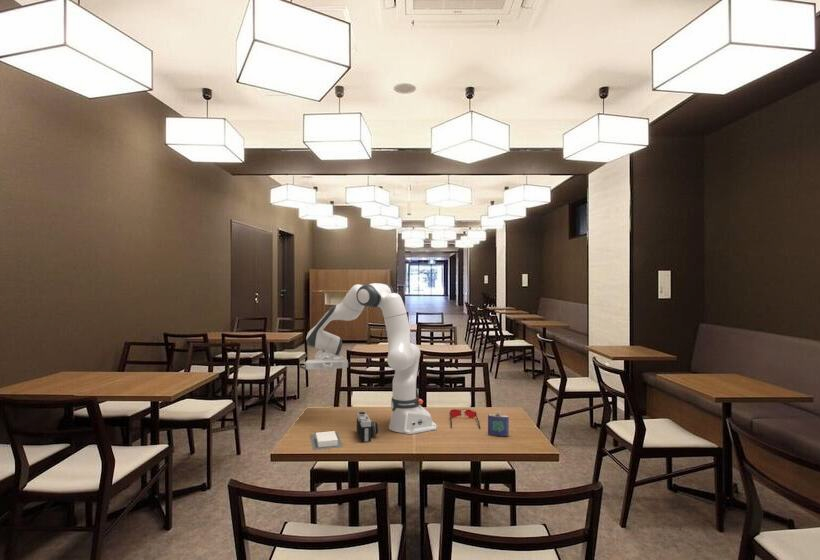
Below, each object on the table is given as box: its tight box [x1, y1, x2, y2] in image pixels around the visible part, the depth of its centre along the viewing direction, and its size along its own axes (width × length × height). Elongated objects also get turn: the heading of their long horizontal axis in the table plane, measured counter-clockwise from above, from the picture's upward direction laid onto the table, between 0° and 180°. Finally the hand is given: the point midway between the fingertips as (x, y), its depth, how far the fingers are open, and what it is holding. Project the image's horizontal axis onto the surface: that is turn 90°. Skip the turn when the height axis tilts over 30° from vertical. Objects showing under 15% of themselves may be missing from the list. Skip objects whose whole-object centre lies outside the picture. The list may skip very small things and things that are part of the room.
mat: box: [309, 431, 344, 451], centre depth 185 cm, size 12×18×1 cm, turn 17°
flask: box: [487, 411, 510, 438], centre depth 195 cm, size 9×3×11 cm, turn 78°
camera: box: [356, 411, 379, 444], centre depth 191 cm, size 14×9×10 cm, turn 8°
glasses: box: [448, 408, 481, 430], centre depth 212 cm, size 14×16×5 cm
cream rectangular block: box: [315, 430, 338, 448], centre depth 184 cm, size 8×3×11 cm
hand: (328, 367), depth 204 cm, fingers closed
